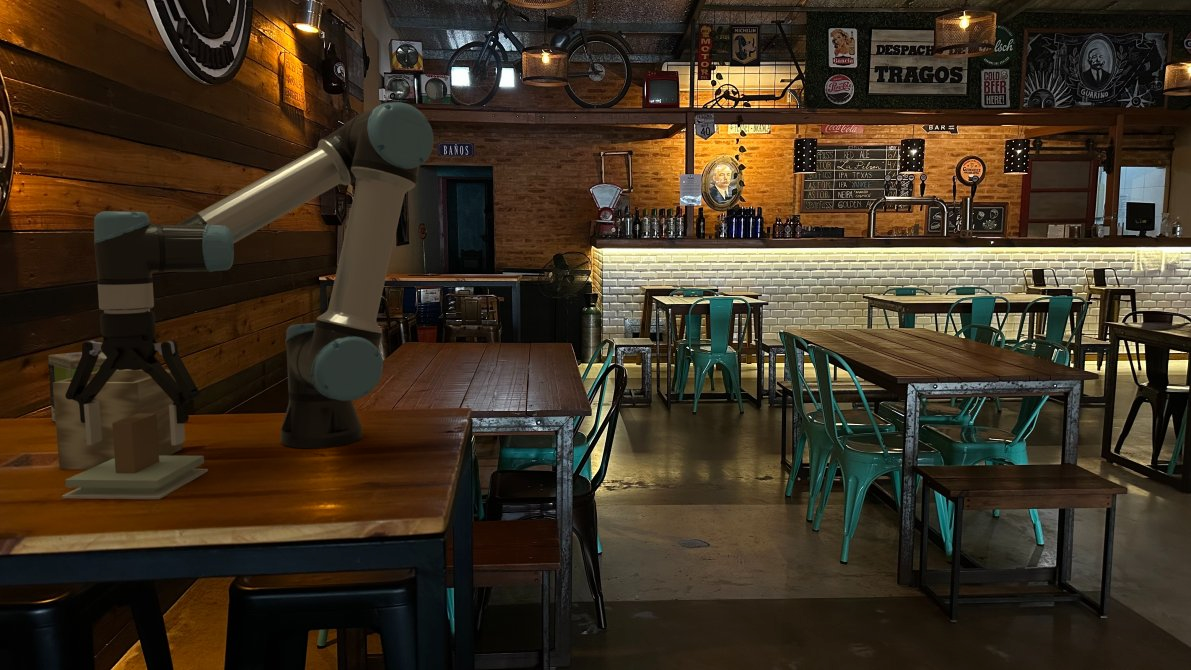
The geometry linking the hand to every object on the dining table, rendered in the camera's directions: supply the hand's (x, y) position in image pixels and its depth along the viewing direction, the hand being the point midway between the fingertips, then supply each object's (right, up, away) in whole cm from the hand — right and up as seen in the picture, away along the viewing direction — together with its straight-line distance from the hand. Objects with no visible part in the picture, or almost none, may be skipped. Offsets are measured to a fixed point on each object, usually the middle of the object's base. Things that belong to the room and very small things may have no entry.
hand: (136, 443), depth 132 cm
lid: (0, -6, +1) cm, 6 cm away
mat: (0, -7, +1) cm, 7 cm away
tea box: (-35, -2, +44) cm, 57 cm away
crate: (-11, -5, +16) cm, 20 cm away
